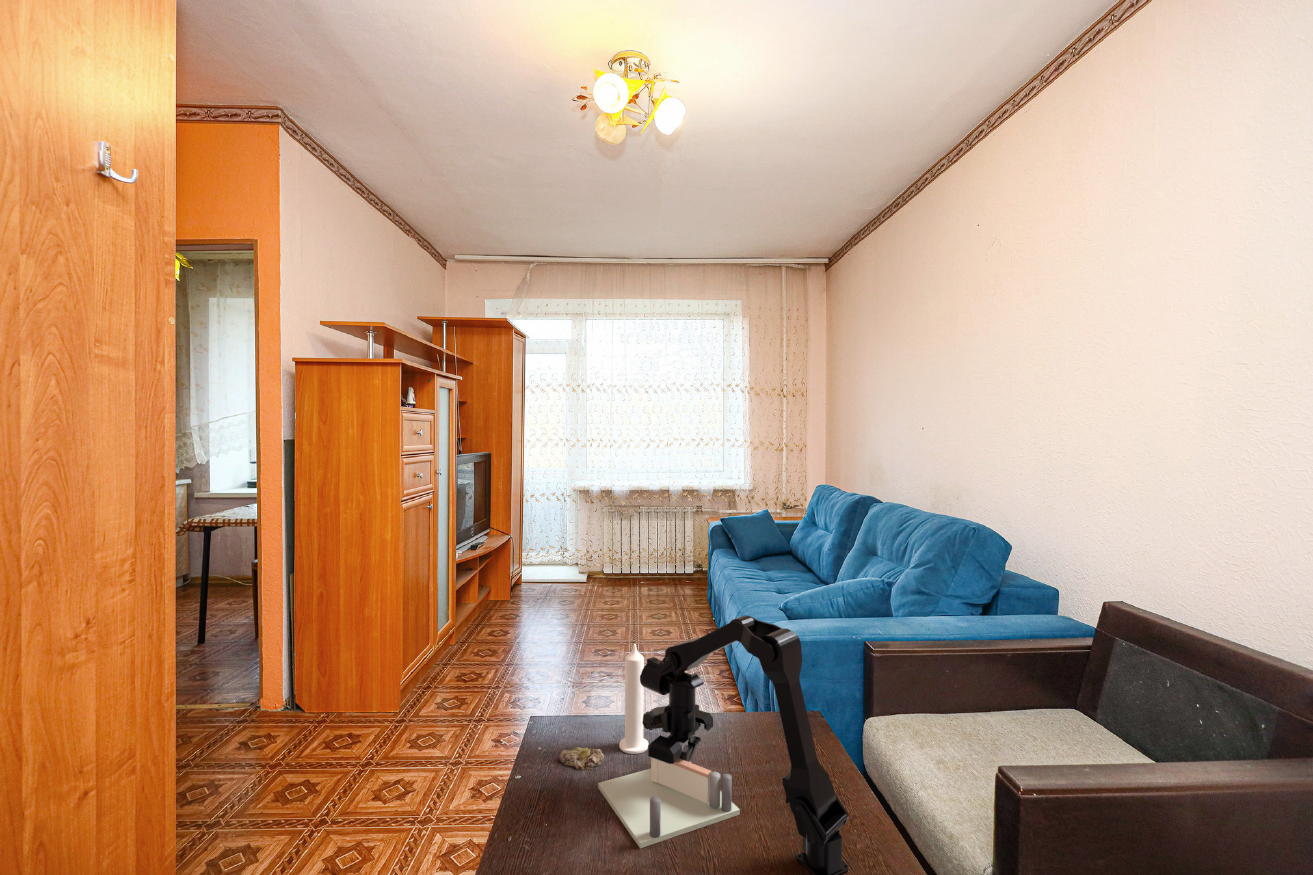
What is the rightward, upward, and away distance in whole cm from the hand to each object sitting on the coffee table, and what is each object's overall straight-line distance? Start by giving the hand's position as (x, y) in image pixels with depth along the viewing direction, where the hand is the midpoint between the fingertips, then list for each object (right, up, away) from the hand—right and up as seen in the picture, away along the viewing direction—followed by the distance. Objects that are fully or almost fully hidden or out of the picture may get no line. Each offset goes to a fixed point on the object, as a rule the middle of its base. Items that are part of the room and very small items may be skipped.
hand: (681, 773), depth 128 cm
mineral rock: (-23, -3, +10) cm, 25 cm away
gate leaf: (0, -1, -5) cm, 5 cm away
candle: (-11, -3, +16) cm, 20 cm away
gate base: (-3, -3, -5) cm, 7 cm away
